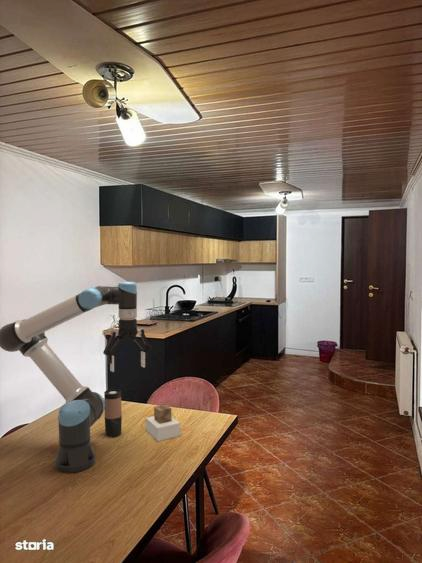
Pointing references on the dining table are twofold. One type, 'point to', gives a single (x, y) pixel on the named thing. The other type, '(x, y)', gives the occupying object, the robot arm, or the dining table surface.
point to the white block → (162, 429)
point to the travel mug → (113, 412)
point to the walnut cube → (162, 414)
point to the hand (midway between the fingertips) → (127, 369)
